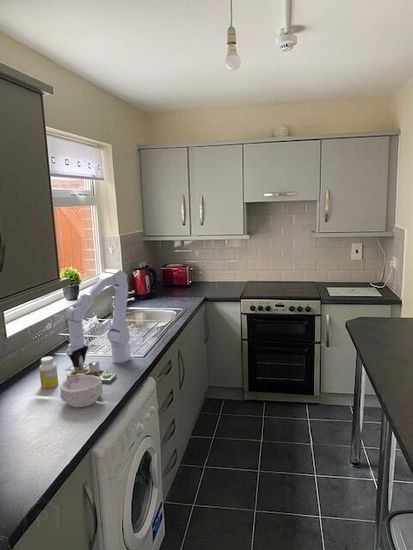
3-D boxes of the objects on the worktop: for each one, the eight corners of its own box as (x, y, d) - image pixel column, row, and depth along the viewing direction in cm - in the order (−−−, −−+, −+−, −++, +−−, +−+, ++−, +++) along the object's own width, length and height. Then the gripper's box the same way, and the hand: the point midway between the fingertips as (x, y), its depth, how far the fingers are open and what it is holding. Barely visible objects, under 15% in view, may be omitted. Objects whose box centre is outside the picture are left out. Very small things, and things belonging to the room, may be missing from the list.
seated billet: (93, 374, 187) (92, 361, 186) (101, 374, 186) (100, 361, 185) (88, 378, 183) (87, 364, 182) (97, 378, 182) (96, 365, 181)
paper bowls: (73, 392, 172) (71, 373, 171) (109, 393, 170) (107, 375, 168) (54, 410, 158) (52, 390, 156) (93, 412, 155) (91, 392, 153)
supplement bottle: (41, 386, 179) (38, 356, 177) (58, 383, 181) (55, 354, 179) (41, 392, 173) (38, 362, 170) (58, 389, 175) (55, 359, 173)
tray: (74, 365, 200) (74, 362, 200) (89, 366, 199) (89, 363, 198) (65, 371, 193) (65, 368, 193) (80, 372, 191) (80, 369, 191)
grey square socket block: (104, 378, 184) (104, 373, 184) (116, 379, 183) (116, 374, 182) (98, 384, 178) (97, 379, 178) (110, 385, 177) (109, 380, 176)
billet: (77, 366, 188) (76, 353, 187) (85, 367, 187) (84, 354, 186) (72, 370, 184) (70, 356, 183) (80, 371, 183) (78, 357, 182)
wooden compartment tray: (77, 373, 191) (76, 368, 190) (108, 375, 187) (107, 370, 187) (67, 380, 183) (66, 375, 183) (99, 383, 180) (98, 377, 179)
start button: (105, 380, 182) (105, 373, 182) (111, 380, 181) (111, 374, 181) (102, 383, 179) (102, 376, 179) (108, 383, 179) (108, 376, 178)
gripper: (76, 329, 191) (79, 358, 193) (58, 339, 177) (61, 371, 179) (91, 329, 189) (93, 359, 191) (73, 340, 175) (76, 372, 177)
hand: (79, 365), depth 185 cm, fingers closed on billet, 4 cm apart
